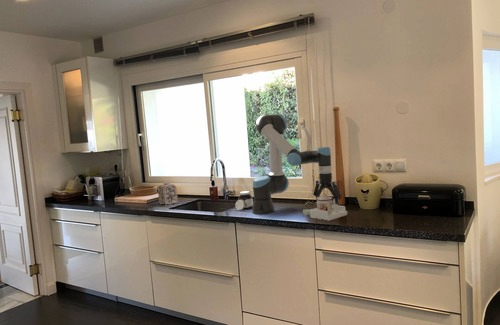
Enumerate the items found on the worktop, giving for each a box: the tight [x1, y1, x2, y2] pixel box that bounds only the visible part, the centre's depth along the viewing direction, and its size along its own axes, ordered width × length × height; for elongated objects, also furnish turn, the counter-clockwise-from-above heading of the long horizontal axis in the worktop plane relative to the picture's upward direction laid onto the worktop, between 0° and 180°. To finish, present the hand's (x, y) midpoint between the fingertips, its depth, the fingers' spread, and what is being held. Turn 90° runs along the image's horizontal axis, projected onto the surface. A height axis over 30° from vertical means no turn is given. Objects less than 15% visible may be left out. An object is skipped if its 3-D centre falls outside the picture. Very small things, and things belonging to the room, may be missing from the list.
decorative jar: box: [157, 181, 179, 205], centre depth 319 cm, size 12×12×18 cm
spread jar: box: [235, 190, 254, 211], centre depth 275 cm, size 12×11×12 cm
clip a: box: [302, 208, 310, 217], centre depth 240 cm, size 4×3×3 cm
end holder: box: [309, 204, 348, 222], centre depth 232 cm, size 14×17×5 cm
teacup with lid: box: [317, 193, 334, 214], centre depth 232 cm, size 12×9×12 cm
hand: (327, 208), depth 233 cm, fingers closed on teacup with lid, 12 cm apart
